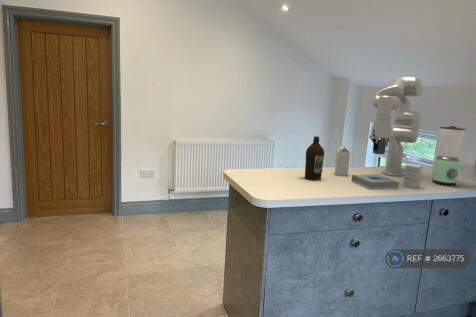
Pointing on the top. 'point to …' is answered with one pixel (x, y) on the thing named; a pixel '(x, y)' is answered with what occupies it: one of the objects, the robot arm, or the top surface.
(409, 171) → the supplement box
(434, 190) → the top surface
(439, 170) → the mint green blender
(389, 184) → the socket plate
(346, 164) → the milk carton
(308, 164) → the olive oil
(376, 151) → the plug
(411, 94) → the robot arm
